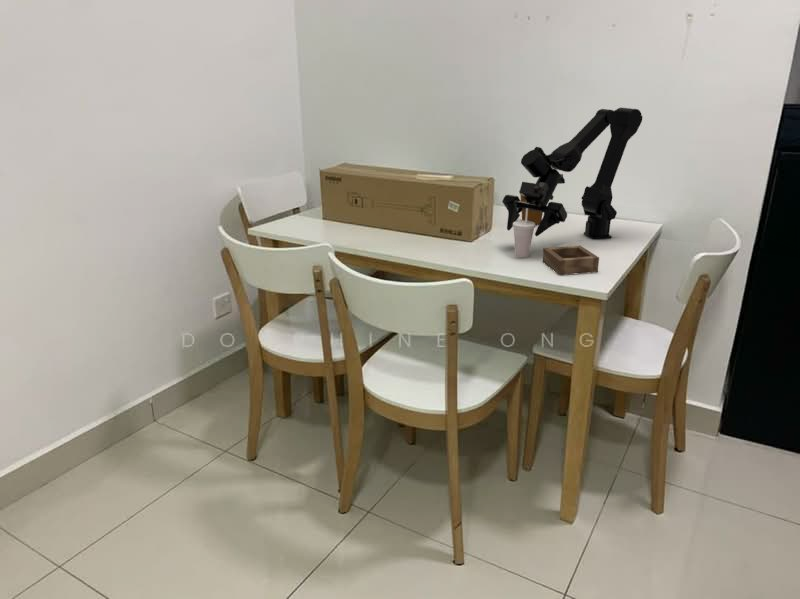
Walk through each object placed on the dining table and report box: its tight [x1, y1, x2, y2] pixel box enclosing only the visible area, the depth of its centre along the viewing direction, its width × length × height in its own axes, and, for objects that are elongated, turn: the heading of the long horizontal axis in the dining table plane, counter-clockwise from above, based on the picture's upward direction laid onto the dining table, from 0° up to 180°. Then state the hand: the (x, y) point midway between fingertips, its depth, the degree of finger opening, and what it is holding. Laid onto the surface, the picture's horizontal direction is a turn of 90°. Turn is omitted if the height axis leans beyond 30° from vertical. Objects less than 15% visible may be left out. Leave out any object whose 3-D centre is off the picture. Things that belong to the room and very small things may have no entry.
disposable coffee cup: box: [519, 193, 544, 226], centre depth 206 cm, size 10×10×12 cm
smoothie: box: [512, 208, 536, 259], centre depth 173 cm, size 6×6×14 cm
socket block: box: [542, 244, 600, 276], centre depth 166 cm, size 11×11×4 cm
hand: (521, 232), depth 173 cm, fingers open, 9 cm apart
